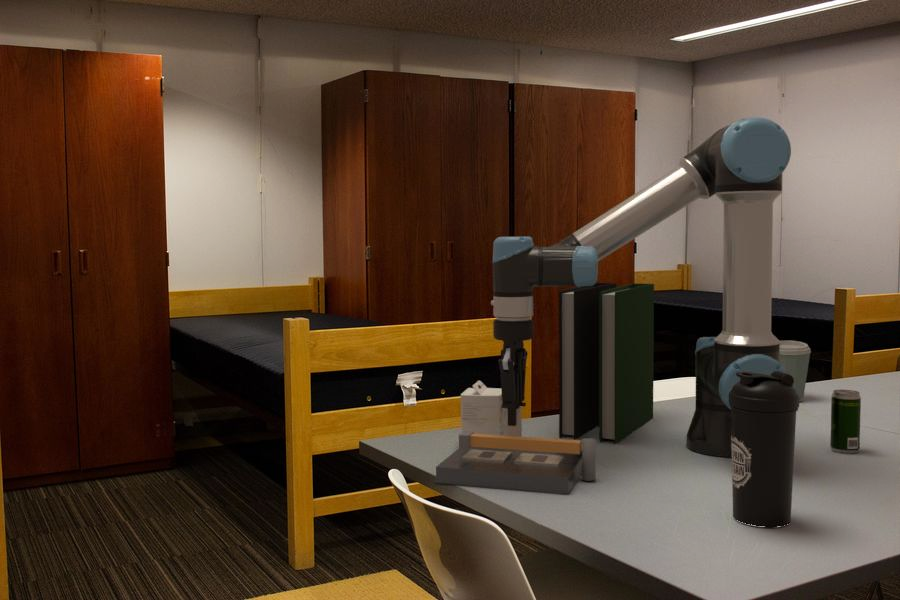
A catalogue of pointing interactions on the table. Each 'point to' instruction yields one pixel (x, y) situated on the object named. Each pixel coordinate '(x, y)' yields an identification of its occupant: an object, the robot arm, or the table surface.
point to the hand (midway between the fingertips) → (513, 441)
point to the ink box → (483, 410)
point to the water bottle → (763, 447)
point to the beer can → (845, 421)
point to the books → (606, 359)
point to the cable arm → (536, 447)
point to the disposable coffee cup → (795, 363)
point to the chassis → (511, 469)
